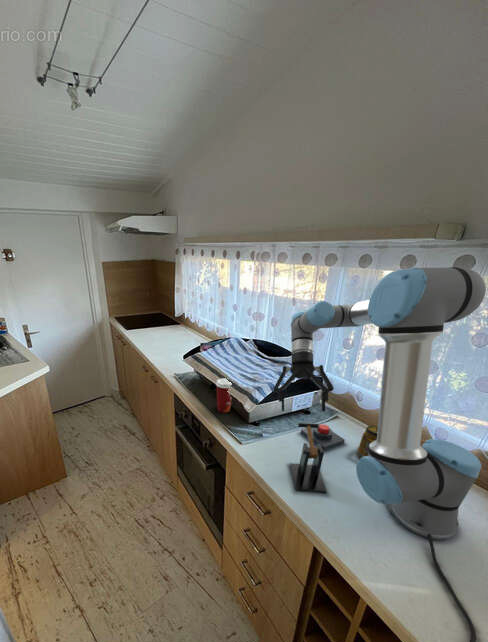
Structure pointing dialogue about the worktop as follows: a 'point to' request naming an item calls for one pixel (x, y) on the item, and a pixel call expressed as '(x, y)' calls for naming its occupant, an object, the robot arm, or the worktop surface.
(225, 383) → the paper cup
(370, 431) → the condiment
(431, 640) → the worktop surface
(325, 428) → the button
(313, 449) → the small hammer
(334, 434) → the button box
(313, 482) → the rod bracket
